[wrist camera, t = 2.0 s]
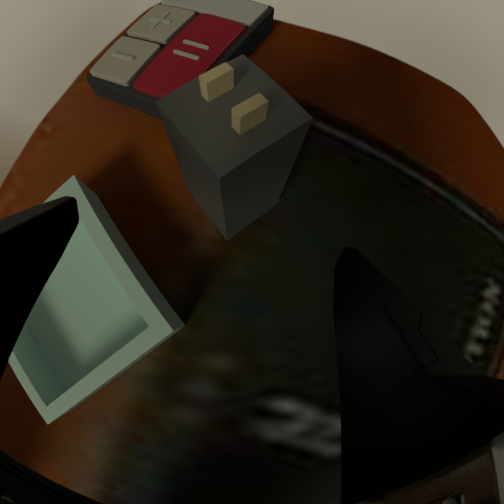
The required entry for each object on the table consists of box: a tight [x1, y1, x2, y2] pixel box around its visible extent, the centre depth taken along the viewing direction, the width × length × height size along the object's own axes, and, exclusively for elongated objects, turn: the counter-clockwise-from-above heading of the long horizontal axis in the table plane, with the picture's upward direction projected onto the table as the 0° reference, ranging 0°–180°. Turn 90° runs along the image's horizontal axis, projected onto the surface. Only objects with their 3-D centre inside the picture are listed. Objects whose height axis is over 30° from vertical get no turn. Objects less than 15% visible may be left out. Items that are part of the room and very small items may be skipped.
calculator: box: [86, 0, 274, 120], centre depth 22 cm, size 11×4×15 cm
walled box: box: [8, 175, 185, 424], centre depth 18 cm, size 12×12×4 cm
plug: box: [156, 54, 313, 241], centre depth 16 cm, size 4×4×12 cm
